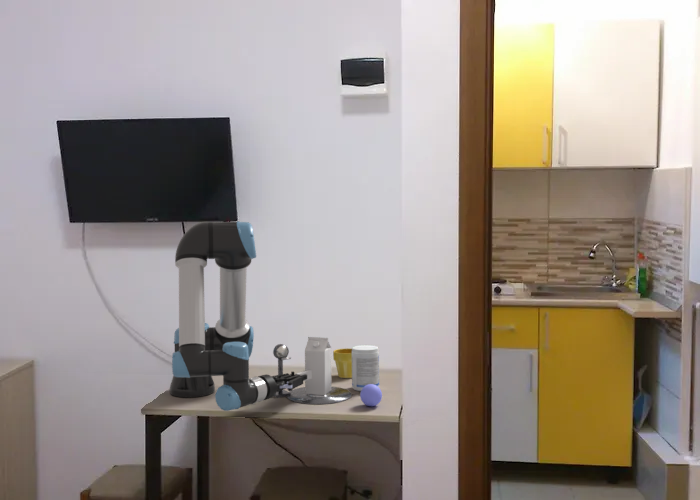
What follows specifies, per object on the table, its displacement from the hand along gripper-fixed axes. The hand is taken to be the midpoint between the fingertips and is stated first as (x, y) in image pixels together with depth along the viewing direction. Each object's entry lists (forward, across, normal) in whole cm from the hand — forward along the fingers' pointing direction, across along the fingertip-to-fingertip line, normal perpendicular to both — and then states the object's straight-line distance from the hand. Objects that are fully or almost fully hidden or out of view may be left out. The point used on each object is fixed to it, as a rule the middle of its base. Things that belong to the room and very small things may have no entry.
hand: (310, 374), depth 241 cm
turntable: (+5, 0, -8) cm, 9 cm away
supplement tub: (+21, +7, -8) cm, 24 cm away
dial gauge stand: (-3, -10, -8) cm, 14 cm away
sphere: (+5, +22, -8) cm, 24 cm away
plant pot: (+32, -9, -8) cm, 34 cm away
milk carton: (+6, -2, -8) cm, 10 cm away
